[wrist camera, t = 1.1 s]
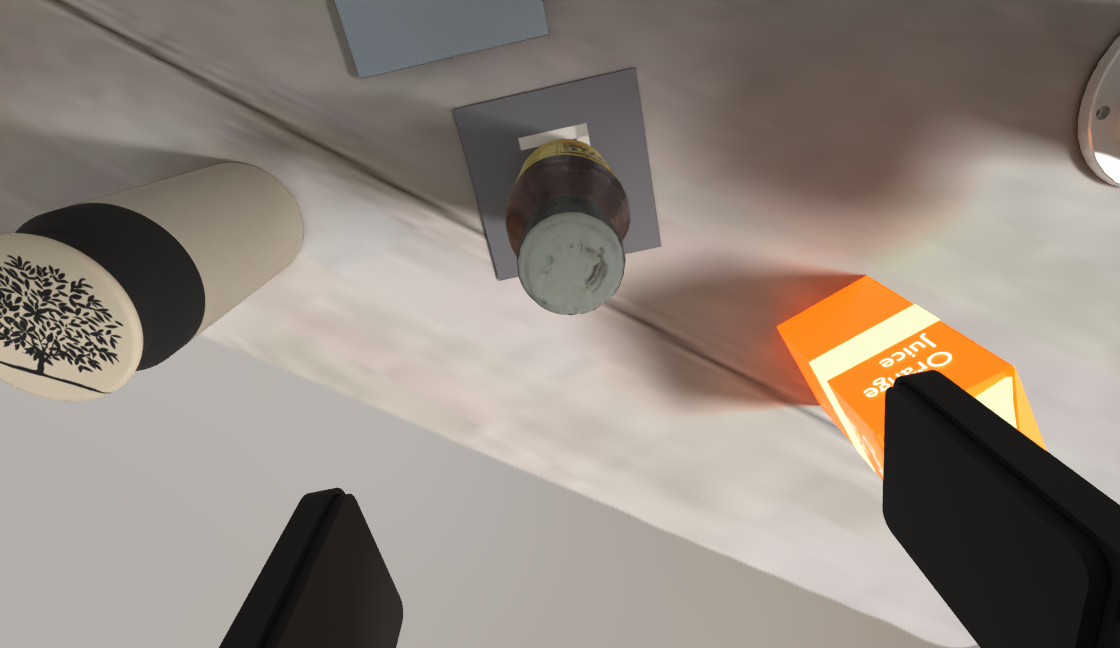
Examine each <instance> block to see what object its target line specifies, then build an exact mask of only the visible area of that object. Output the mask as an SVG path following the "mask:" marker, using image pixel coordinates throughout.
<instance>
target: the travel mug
mask: <svg viewBox="0 0 1120 648" xmlns="http://www.w3.org/2000/svg"><path fill="white" fill-rule="evenodd" d="M303 236H304V226H303V220H302V216H301V212H300V210H299V207H298V205H297V203H296V201H295V200H294V198H293V197H292V195H291V194H290V192H289V191H288V190H287V189H286V188H285V187H284V186H283V185H282V184H281V183H280V182H279V181H278V180H277V179H276V178H274V177H273V176H271V175H270V174H268V173H267V172H265V171H263V170H261V169H259V168H256V167H254V166H251V165H247V164H242V163H221V164H217V165H213V166H210V167H206V168H203V169H199V170H196V171H192V172H189V173H185V174H181V175H178V176H174V177H171V178H167V179H164V180H160V181H157V182H153V183H150V184H146V185H143V186H139V187H136V188H132V189H129V190H125V191H122V192H118V193H114V194H111V195H107V196H104V197H100V198H97V199H93V200H90V201H86V202H83V203H79V204H76V205H72V206H69V207H65V208H62V209H58V210H55V211H51V212H48V213H44V214H41V215H39V216H36V217H34V218H32V219H30V220H29V221H27V222H26V223H24V224H23V225H22V226H21V227H20V228H19V229H18V230H17V231H16V232H15V233H4V234H0V379H1V380H3V381H4V382H6V383H8V384H10V385H11V386H13V387H16V388H18V389H20V390H22V391H25V392H28V393H30V394H33V395H36V396H39V397H43V398H48V399H53V400H61V401H83V400H90V399H95V398H99V397H101V396H105V395H107V394H109V393H111V392H113V391H115V390H117V389H118V388H120V387H121V386H122V385H124V384H125V383H126V382H127V381H128V380H129V379H130V377H131V376H132V375H133V373H134V372H135V371H139V370H144V369H147V368H150V367H153V366H155V365H158V364H159V363H161V362H163V361H164V360H166V359H167V358H169V357H170V356H171V355H172V354H174V353H175V352H176V351H178V350H179V349H180V348H182V347H183V346H184V345H186V344H187V343H188V342H189V341H191V340H192V339H193V338H195V337H196V336H197V335H199V334H200V333H201V332H203V331H204V330H205V329H206V328H208V327H209V326H210V325H212V324H213V323H214V322H216V321H217V320H218V319H220V318H221V317H222V316H223V315H225V314H226V313H227V312H229V311H230V310H231V309H233V308H234V307H235V306H237V305H238V304H239V303H240V302H242V301H243V300H244V299H246V298H247V297H248V296H250V295H251V294H252V293H254V292H255V291H256V290H257V289H259V288H260V287H261V286H263V285H264V284H265V283H267V282H268V281H269V280H271V279H272V278H273V277H274V276H276V275H277V274H278V273H280V272H281V271H282V270H284V269H285V268H286V267H287V266H289V265H290V264H291V263H292V262H293V261H294V259H295V258H296V257H297V255H298V253H299V251H300V249H301V246H302V242H303Z"/></svg>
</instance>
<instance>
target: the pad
mask: <svg viewBox="0 0 1120 648" xmlns="http://www.w3.org/2000/svg"><path fill="white" fill-rule="evenodd" d="M335 3H336V7H337V10H338V13H339V16H340V19H341V22H342V25H343V28H344V31H345V34H346V37H347V40H348V44H349V47H350V50H351V53H352V56H353V59H354V62H355V65H356V68H357V71H358V74H359V77H360V78H366V77H370V76H374V75H379V74H383V73H387V72H391V71H396V70H400V69H404V68H408V67H413V66H417V65H421V64H425V63H430V62H434V61H438V60H442V59H447V58H451V57H455V56H459V55H464V54H468V53H472V52H476V51H481V50H485V49H489V48H493V47H498V46H502V45H506V44H510V43H515V42H519V41H523V40H528V39H532V38H536V37H540V36H545V35H549V32H548V27H547V22H546V17H545V12H544V6H543V1H542V0H335Z"/></svg>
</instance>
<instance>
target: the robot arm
mask: <svg viewBox="0 0 1120 648" xmlns="http://www.w3.org/2000/svg"><path fill="white" fill-rule="evenodd" d="M1078 139H1079V143H1080V148H1081V153H1082V155H1083V157H1084V159H1085V161H1086V163H1087V165H1088V166H1089V167H1090V168H1091V170H1092V171H1093V172H1094V173H1095V174H1096V175H1097V176H1098V177H1100V178H1101V179H1103V180H1104V181H1106V182H1107V183H1109V184H1112V185H1115V186H1118V187H1120V36H1119V37H1118V38H1117V39H1116V40H1115V41H1114V42H1113V43H1112V45H1111V46H1110V47H1109V49H1108V50H1107V52H1106V53H1105V54H1104V56H1103V57H1102V58H1101V60H1100V61H1099V63H1098V65H1097V67H1096V69H1095V71H1094V72H1093V74H1092V76H1091V78H1090V80H1089V82H1088V85H1087V87H1086V90H1085V93H1084V96H1083V98H1082V102H1081V107H1080V112H1079V117H1078ZM883 515H884V518H885V521H886V524H887V526H888V528H889V529H890V531H891V532H892V534H893V535H894V536H895V537H896V539H897V540H898V541H899V543H900V544H901V545H902V547H903V548H904V549H905V550H906V552H907V553H908V554H909V556H910V557H911V558H912V559H913V561H914V562H915V563H916V565H917V566H918V567H919V569H920V570H921V571H922V572H923V574H924V575H925V576H926V578H927V579H928V580H929V581H930V583H931V584H932V585H933V587H934V588H935V589H936V591H937V592H938V593H939V594H940V596H941V597H942V598H943V600H944V601H945V602H946V604H947V605H948V606H949V607H950V609H951V610H952V611H953V613H954V614H955V615H956V616H957V618H958V619H959V620H960V622H961V623H962V624H963V626H964V627H965V628H966V629H967V631H968V632H969V633H970V635H971V636H972V637H973V639H974V640H975V641H976V642H977V644H978V645H979V646H980V648H1120V505H1119V504H1117V503H1116V502H1115V501H1113V500H1112V499H1111V498H1109V497H1108V496H1107V495H1105V494H1104V493H1103V492H1101V491H1100V490H1098V489H1097V488H1096V487H1094V486H1093V485H1092V484H1090V483H1089V482H1088V481H1086V480H1085V479H1084V478H1082V477H1081V476H1080V475H1078V474H1077V473H1076V472H1074V471H1073V470H1072V469H1070V468H1069V467H1067V466H1066V465H1065V464H1063V463H1062V462H1061V461H1059V460H1058V459H1057V458H1055V457H1054V456H1053V455H1051V454H1050V453H1049V452H1047V451H1046V450H1045V449H1043V448H1042V447H1040V446H1039V445H1038V444H1036V443H1035V442H1034V441H1032V440H1031V439H1030V438H1028V437H1027V436H1026V435H1024V434H1023V433H1022V432H1020V431H1019V430H1018V429H1016V428H1015V427H1014V426H1012V425H1011V424H1009V423H1008V422H1007V421H1005V420H1004V419H1003V418H1001V417H1000V416H999V415H997V414H996V413H995V412H993V411H992V410H991V409H989V408H988V407H987V406H985V405H984V404H983V403H981V402H980V401H978V400H977V399H976V398H974V397H973V396H972V395H970V394H969V393H968V392H966V391H965V390H964V389H962V388H961V387H960V386H958V385H957V384H956V383H954V382H953V381H952V380H950V379H949V378H947V377H946V376H945V375H943V374H942V373H941V372H939V371H937V370H928V371H923V372H918V373H913V374H908V375H903V376H899V377H897V378H896V379H895V381H894V385H893V386H892V387H889V388H887V390H886V392H885V414H884V462H883ZM402 620H403V606H402V601H401V599H400V596H399V594H398V592H397V589H396V587H395V585H394V583H393V580H392V578H391V576H390V574H389V572H388V569H387V567H386V565H385V563H384V560H383V558H382V556H381V554H380V552H379V549H378V547H377V545H376V543H375V541H374V538H373V536H372V534H371V532H370V529H369V527H368V525H367V523H366V521H365V518H364V516H363V514H362V512H361V510H360V507H359V505H358V503H357V501H356V499H355V497H354V496H353V495H352V494H345V493H344V491H343V490H342V489H340V488H333V489H328V490H323V491H318V492H313V493H308V494H306V495H304V496H303V498H302V499H301V500H300V502H299V504H298V506H297V508H296V509H295V511H294V513H293V515H292V517H291V519H290V520H289V522H288V524H287V526H286V528H285V529H284V531H283V533H282V535H281V536H280V538H279V540H278V542H277V544H276V545H275V547H274V549H273V551H272V553H271V555H270V556H269V558H268V560H267V562H266V564H265V565H264V567H263V569H262V571H261V573H260V575H259V576H258V578H257V580H256V582H255V584H254V586H253V587H252V589H251V591H250V593H249V594H248V596H247V598H246V600H245V602H244V604H243V605H242V607H241V609H240V611H239V612H238V614H237V616H236V618H235V620H234V621H233V623H232V625H231V627H230V629H229V630H228V632H227V634H226V636H225V638H224V639H223V641H222V643H221V645H220V647H219V648H396V645H397V641H398V637H399V633H400V629H401V625H402Z"/></svg>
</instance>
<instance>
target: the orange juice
mask: <svg viewBox="0 0 1120 648" xmlns="http://www.w3.org/2000/svg"><path fill="white" fill-rule="evenodd" d="M777 329H778V331H779V332H780V334H781V336H782V338H783V339H784V341H785V343H786V345H787V347H788V348H789V350H790V352H791V354H792V356H793V357H794V359H795V361H796V363H797V365H798V366H799V368H800V370H801V372H802V374H803V375H804V377H805V379H806V381H807V383H808V384H809V386H810V388H811V390H812V391H813V393H814V395H815V397H816V399H817V400H818V402H819V404H820V406H821V407H822V408H823V409H824V411H825V412H826V413H827V414H828V415H829V417H830V418H831V419H832V420H833V421H834V423H835V424H836V425H837V426H838V427H839V428H840V430H841V431H842V432H843V433H844V434H845V436H846V437H847V438H848V439H849V440H850V442H851V443H852V444H853V445H854V446H855V448H856V450H857V451H858V452H859V453H860V454H861V456H862V457H863V458H864V459H865V460H866V462H867V463H868V464H869V465H870V466H871V468H872V469H873V470H874V471H875V472H876V473H877V474H878V475H879V476H880V477H881V479H882V480H883V462H884V414H885V392H886V390H887V388H889V387H892V386H893V385H894V381H895V379H896V378H897V377H899V376H903V375H908V374H913V373H918V372H923V371H928V370H937V371H939V372H941V373H942V374H943V375H945V376H946V377H947V378H949V379H950V380H952V381H953V382H954V383H956V384H957V385H958V386H960V387H961V388H962V389H964V390H965V391H966V392H968V393H969V394H970V395H972V396H973V397H974V398H976V399H977V400H978V401H980V402H981V403H983V404H984V405H985V406H987V407H988V408H989V409H991V410H992V411H993V412H995V413H996V414H997V415H999V416H1000V417H1001V418H1003V419H1004V420H1005V421H1007V422H1008V423H1009V424H1011V425H1012V426H1014V427H1015V428H1016V429H1018V430H1019V431H1020V432H1022V433H1023V434H1024V435H1026V436H1027V437H1028V438H1030V439H1031V440H1032V441H1034V442H1035V443H1036V444H1038V445H1039V446H1040V447H1042V448H1043V449H1045V450H1046V448H1045V445H1044V442H1043V440H1042V437H1041V434H1040V432H1039V429H1038V426H1037V424H1036V421H1035V419H1034V416H1033V413H1032V411H1031V408H1030V405H1029V403H1028V400H1027V397H1026V395H1025V392H1024V389H1023V387H1022V384H1021V382H1020V379H1019V376H1018V374H1017V371H1016V368H1015V366H1014V367H1013V366H1012V365H1011V364H1009V363H1007V362H1006V361H1004V360H1003V359H1001V358H999V357H998V356H996V355H995V354H993V353H991V352H990V351H988V350H987V349H985V348H983V347H982V346H980V345H979V344H977V343H975V342H974V341H972V340H970V339H969V338H967V337H966V336H964V335H962V334H961V333H959V332H958V331H956V330H954V329H953V328H951V327H950V326H948V325H946V324H945V323H943V322H942V321H940V319H938V318H937V317H935V316H934V315H932V314H930V313H929V312H927V311H925V310H924V309H922V308H921V307H919V306H917V305H916V304H913V303H911V302H909V301H908V300H906V299H905V298H903V297H901V296H900V295H898V294H897V293H895V292H893V291H892V290H890V289H888V288H887V287H885V286H884V285H882V284H880V283H879V282H877V281H876V280H874V279H872V278H871V277H869V276H868V275H866V276H865V277H863V278H861V279H859V280H858V281H856V282H854V283H852V284H851V285H849V286H847V287H845V288H843V289H842V290H840V291H838V292H836V293H835V294H833V295H831V296H829V297H828V298H826V299H824V300H822V301H821V302H819V303H817V304H815V305H814V306H812V307H810V308H808V309H807V310H805V311H803V312H801V313H800V314H798V315H796V316H794V317H792V318H791V319H789V320H787V321H785V322H784V323H782V324H780V325H778V326H777ZM1046 451H1047V450H1046Z"/></svg>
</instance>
